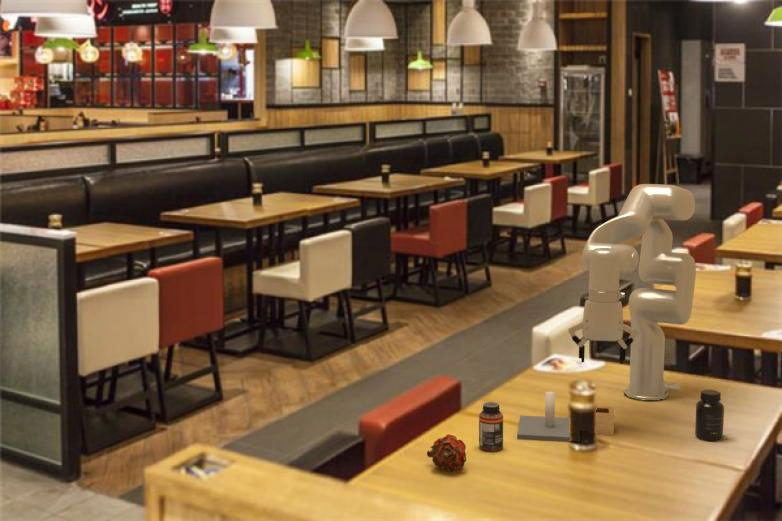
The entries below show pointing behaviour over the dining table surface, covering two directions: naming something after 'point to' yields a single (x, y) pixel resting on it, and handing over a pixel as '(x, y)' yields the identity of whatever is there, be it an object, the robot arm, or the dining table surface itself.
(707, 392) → the supplement bottle
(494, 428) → the supplement bottle
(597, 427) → the collar
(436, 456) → the dragon fruit
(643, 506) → the dining table surface
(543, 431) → the shaft block
